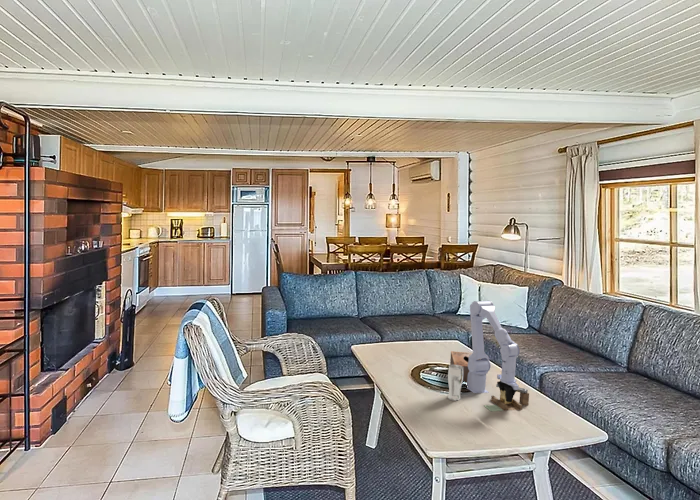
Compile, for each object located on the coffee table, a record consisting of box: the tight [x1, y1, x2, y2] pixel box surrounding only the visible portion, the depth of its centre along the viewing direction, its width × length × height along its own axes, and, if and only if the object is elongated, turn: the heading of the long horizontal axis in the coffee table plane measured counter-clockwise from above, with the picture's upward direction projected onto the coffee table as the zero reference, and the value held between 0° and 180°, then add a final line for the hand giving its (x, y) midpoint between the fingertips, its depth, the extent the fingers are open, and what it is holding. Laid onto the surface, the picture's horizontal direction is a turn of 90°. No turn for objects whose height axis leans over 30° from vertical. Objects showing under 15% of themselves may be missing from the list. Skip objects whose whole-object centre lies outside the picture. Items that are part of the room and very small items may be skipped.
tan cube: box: [499, 389, 514, 404], centre depth 217 cm, size 4×4×5 cm
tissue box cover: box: [449, 350, 473, 382], centre depth 254 cm, size 26×14×10 cm, turn 172°
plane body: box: [490, 392, 530, 411], centre depth 217 cm, size 12×15×6 cm
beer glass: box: [447, 364, 464, 402], centre depth 222 cm, size 7×7×15 cm
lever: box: [495, 383, 529, 393], centre depth 222 cm, size 3×14×1 cm, turn 56°
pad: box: [484, 404, 504, 412], centre depth 212 cm, size 6×6×1 cm
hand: (506, 399), depth 217 cm, fingers closed on tan cube, 4 cm apart
